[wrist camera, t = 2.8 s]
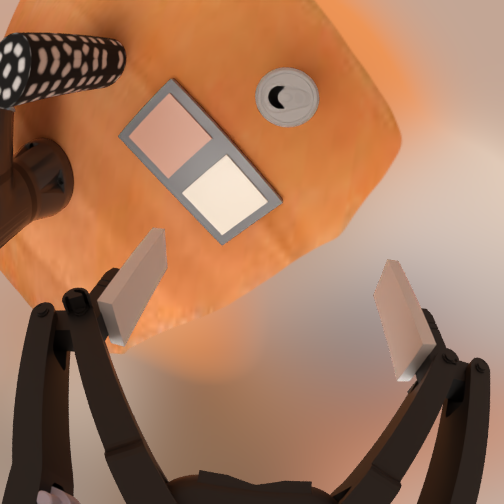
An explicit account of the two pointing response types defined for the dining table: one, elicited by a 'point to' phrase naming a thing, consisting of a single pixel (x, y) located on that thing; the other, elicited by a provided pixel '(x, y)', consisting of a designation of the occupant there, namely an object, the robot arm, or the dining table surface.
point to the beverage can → (287, 97)
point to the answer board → (199, 163)
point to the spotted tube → (56, 65)
